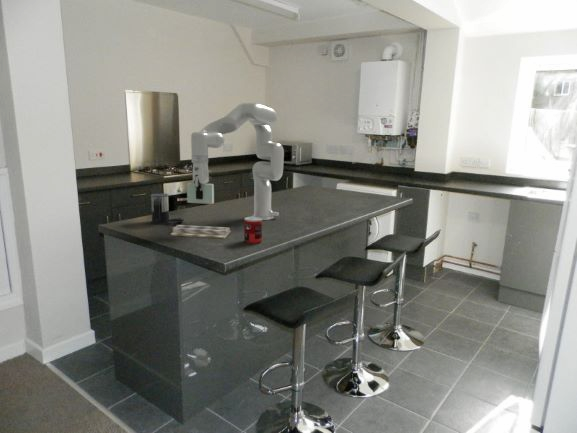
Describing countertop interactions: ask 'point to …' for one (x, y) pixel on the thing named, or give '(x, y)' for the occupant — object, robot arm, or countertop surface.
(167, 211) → the milk frother
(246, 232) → the canned food
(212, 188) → the door panel
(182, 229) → the door track
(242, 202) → the countertop surface
